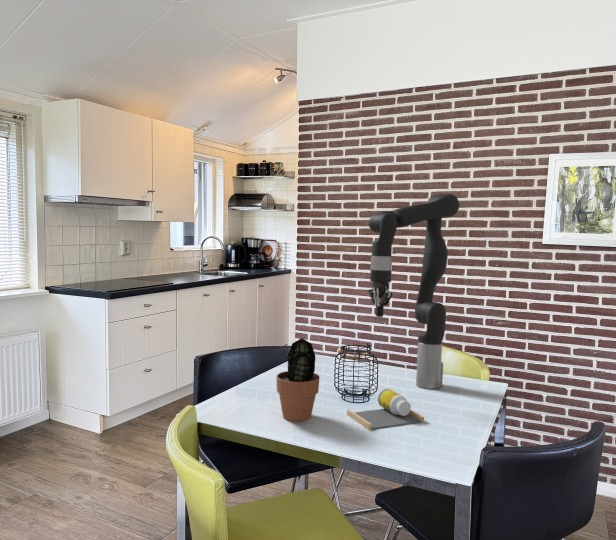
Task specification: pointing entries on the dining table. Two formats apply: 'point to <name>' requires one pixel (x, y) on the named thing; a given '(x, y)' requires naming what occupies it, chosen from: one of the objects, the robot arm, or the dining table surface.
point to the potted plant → (298, 382)
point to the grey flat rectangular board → (384, 418)
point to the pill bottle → (394, 402)
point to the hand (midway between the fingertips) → (379, 316)
